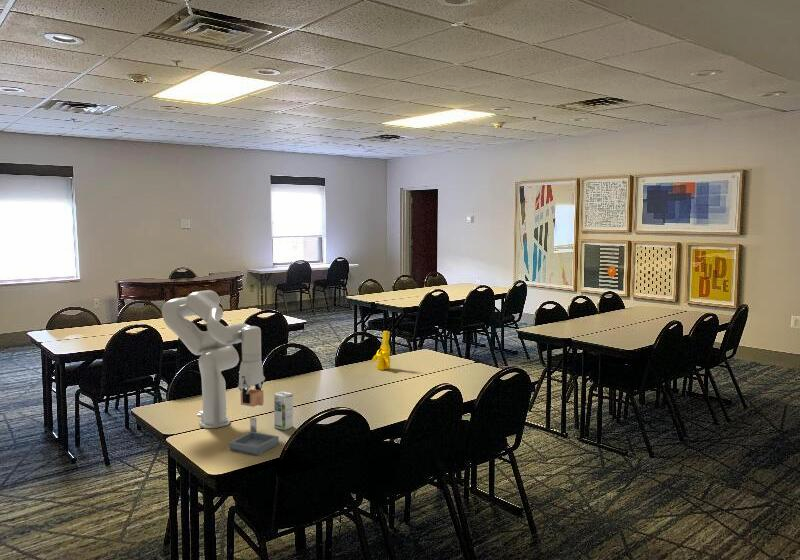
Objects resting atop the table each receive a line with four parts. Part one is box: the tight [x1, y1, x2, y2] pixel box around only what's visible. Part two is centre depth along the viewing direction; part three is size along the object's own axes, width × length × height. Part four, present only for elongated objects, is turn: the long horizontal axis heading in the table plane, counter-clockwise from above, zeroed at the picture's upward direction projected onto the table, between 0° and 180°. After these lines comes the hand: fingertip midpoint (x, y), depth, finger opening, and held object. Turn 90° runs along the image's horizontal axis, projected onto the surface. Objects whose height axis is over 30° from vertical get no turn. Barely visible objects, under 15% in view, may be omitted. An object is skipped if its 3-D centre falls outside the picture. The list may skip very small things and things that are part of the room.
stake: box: [249, 417, 258, 433], centre depth 247 cm, size 2×2×6 cm
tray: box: [228, 431, 280, 457], centre depth 232 cm, size 13×13×3 cm
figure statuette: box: [370, 330, 391, 371], centre depth 352 cm, size 18×8×22 cm, turn 39°
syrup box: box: [273, 391, 294, 431], centre depth 253 cm, size 6×6×14 cm
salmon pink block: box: [240, 388, 265, 408], centre depth 246 cm, size 8×6×5 cm
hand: (252, 400), depth 246 cm, fingers closed on salmon pink block, 6 cm apart
